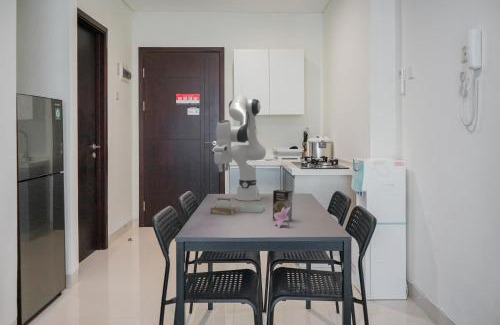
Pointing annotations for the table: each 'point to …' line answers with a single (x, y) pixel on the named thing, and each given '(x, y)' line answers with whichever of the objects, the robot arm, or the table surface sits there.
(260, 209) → the tray
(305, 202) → the table surface
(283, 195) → the coffee box
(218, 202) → the white block
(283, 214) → the lily
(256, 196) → the robot arm
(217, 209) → the bay
